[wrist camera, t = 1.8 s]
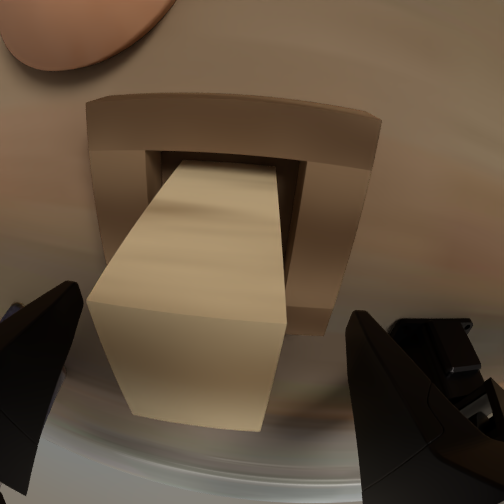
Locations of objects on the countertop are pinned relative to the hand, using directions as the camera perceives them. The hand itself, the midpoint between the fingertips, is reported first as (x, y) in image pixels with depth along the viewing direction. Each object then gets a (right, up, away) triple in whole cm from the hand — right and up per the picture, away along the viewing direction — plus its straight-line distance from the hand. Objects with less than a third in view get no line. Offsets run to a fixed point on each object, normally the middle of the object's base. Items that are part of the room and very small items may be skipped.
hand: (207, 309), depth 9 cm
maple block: (0, +3, +5) cm, 6 cm away
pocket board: (0, +3, +5) cm, 6 cm away
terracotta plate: (-6, +14, -2) cm, 15 cm away
